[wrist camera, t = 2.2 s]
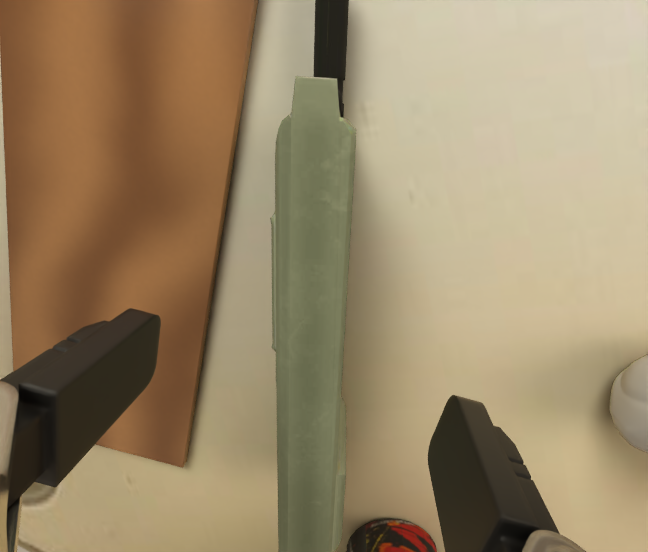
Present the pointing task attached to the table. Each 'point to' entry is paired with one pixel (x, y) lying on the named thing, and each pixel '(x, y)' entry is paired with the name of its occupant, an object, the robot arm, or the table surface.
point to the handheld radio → (313, 292)
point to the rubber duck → (632, 403)
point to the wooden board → (122, 181)
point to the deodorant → (390, 537)
